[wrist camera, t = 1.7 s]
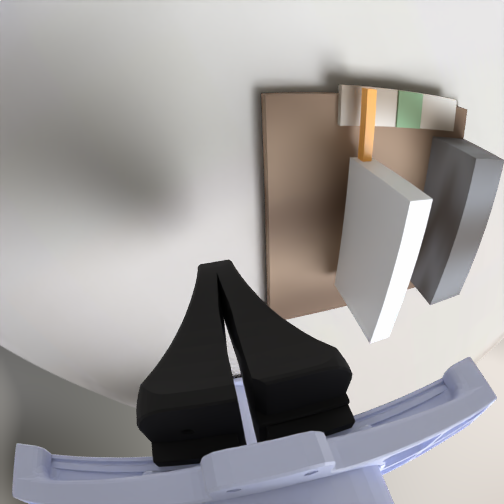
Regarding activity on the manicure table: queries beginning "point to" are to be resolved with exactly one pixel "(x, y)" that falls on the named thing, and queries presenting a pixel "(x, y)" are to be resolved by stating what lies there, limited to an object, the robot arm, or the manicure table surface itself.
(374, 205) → the paddle
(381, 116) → the gauge frame
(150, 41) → the manicure table surface
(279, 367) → the robot arm
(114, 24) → the manicure table surface
